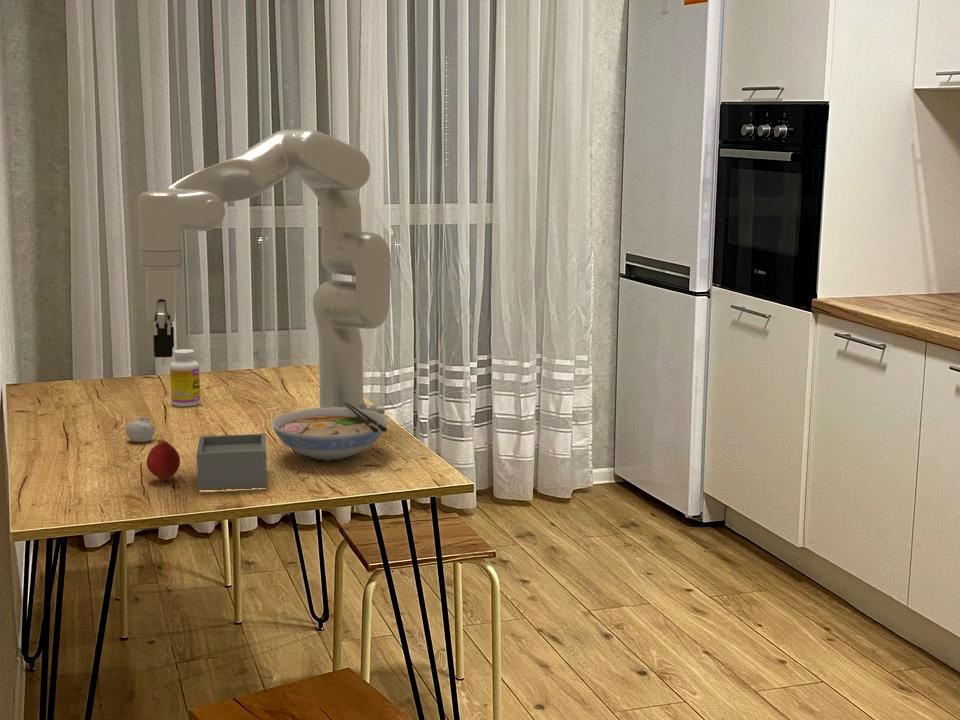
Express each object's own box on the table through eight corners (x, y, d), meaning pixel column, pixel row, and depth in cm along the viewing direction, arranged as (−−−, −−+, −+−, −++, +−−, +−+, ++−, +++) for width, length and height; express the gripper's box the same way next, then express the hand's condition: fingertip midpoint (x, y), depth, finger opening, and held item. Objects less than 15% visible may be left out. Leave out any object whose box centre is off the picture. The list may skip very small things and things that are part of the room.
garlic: (161, 439, 235) (160, 415, 234) (147, 445, 230) (145, 421, 229) (135, 436, 237) (134, 412, 236) (121, 443, 231) (119, 419, 230)
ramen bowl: (261, 445, 230) (260, 406, 229) (370, 436, 238) (369, 398, 237) (285, 480, 207) (284, 437, 206) (404, 468, 215) (403, 426, 214)
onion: (168, 474, 211) (166, 432, 209) (187, 480, 207) (185, 438, 205) (141, 481, 206) (139, 439, 205) (160, 487, 203) (158, 444, 201)
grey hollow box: (266, 471, 213) (265, 433, 212) (267, 491, 202) (265, 450, 200) (201, 474, 211) (200, 436, 210) (198, 494, 200) (196, 453, 198)
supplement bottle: (196, 407, 262) (194, 353, 259) (168, 407, 262) (165, 353, 260) (203, 401, 268) (201, 348, 266) (176, 400, 269) (173, 348, 266)
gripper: (142, 255, 212) (145, 345, 215) (137, 264, 196) (140, 361, 199) (183, 255, 214) (186, 344, 217) (181, 264, 197) (184, 360, 201)
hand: (164, 352), depth 208 cm, fingers open, 9 cm apart
